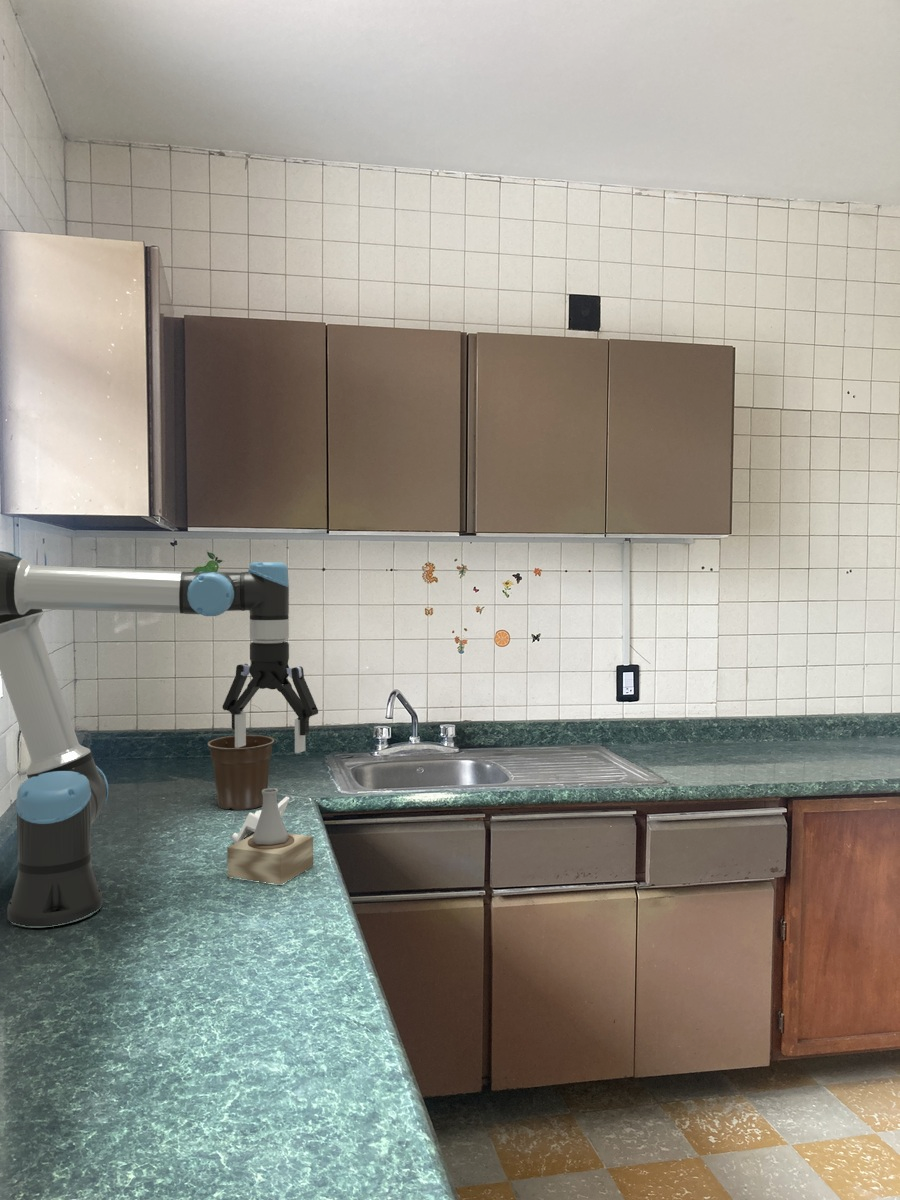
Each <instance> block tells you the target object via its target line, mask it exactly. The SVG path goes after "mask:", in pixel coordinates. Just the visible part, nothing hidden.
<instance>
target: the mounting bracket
mask: <svg viewBox="0 0 900 1200" xmlns="http://www.w3.org/2000/svg"><path fill="white" fill-rule="evenodd" d="M290 800H291V799H290V797H289V796H285V797H284V798H282V799H281V800H280V802H277V803H278V808H279V812H280V815H281V817H283V816H284V813H285V811H286V808H287V806H288V804H289V802H290ZM261 811H262V809H258V810H256V811H255V813H254V812H253V813H252V812H248V814H247V816H246V819H245V820H244V822H243V823H242V824H243V825H242V826H241V828H240V831H238V833H237V832H234V833H233V834H232V836H231V838H230V840H231V841H233V844H235V843H237V842H239V841H241V840H243V839H244V838H245V837H246V838H247V837H249V836H250V835H251V834H250V833H251V832H252V833H254V832H255V829H256V826H257V823H258V820H259V817H260V814H261Z"/></svg>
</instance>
